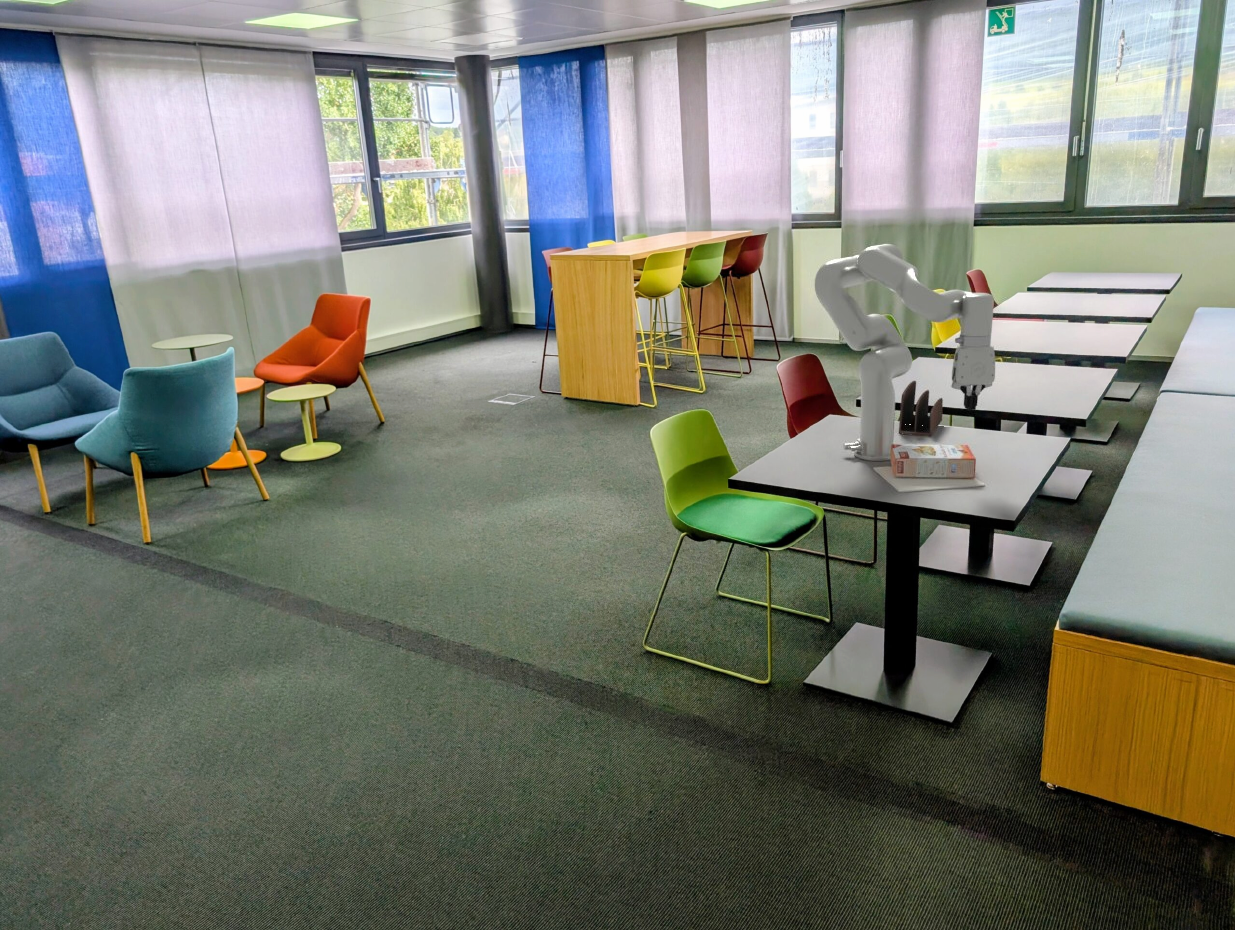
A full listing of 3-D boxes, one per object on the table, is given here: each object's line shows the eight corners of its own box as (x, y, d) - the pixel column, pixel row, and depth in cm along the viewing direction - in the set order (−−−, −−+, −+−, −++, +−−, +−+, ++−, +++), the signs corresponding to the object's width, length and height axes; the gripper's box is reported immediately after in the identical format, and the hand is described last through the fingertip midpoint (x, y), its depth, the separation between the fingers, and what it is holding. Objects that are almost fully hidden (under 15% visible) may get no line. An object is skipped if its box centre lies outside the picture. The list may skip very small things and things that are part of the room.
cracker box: (976, 457, 242) (894, 457, 246) (975, 478, 243) (894, 478, 248) (967, 443, 255) (890, 443, 259) (966, 463, 257) (889, 463, 261)
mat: (899, 492, 239) (899, 491, 238) (873, 468, 258) (873, 467, 257) (984, 486, 240) (984, 484, 240) (952, 462, 259) (952, 461, 259)
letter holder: (898, 434, 289) (900, 391, 284) (911, 418, 305) (913, 377, 301) (931, 437, 284) (933, 393, 279) (942, 420, 300) (945, 379, 296)
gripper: (953, 345, 234) (948, 414, 240) (1009, 342, 235) (1003, 410, 241) (941, 340, 241) (937, 407, 247) (996, 336, 242) (990, 403, 248)
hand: (970, 408), depth 244 cm, fingers closed
